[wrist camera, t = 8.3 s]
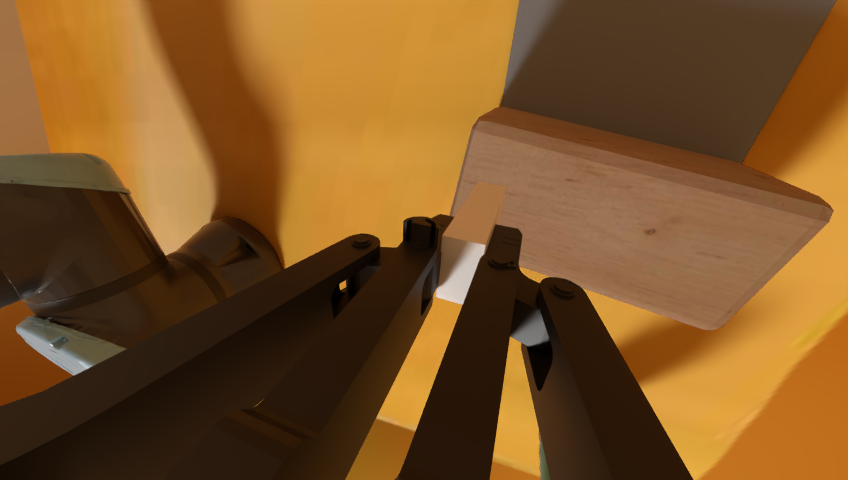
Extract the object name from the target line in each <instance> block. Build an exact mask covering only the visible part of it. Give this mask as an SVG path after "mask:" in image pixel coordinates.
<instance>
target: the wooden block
mask: <svg viewBox="0 0 848 480" xmlns="http://www.w3.org/2000/svg"><path fill="white" fill-rule="evenodd" d="M477 182H482V183H488V184H494V185H500V186H506V187H507V188H506V193H505V198H504V203H503V207H502V212H501V217H500V222H499V225H502V226H507V227H512V228H517V229H519V230H520V232H521V233H522V235H523V236H522V243H521V250H520V257H519V266H520V267H523V268H526V269H529V270H532V271H535V272H538V273H541V274H543V275H546V276H549V277H558V278H564V279H567V280H570V281H572V282H574V283H575V284H577V285H578V286H580V287H581V288H584V289H587V290H590V291H593V292H596V293H598V294H601V295H604V296H607V297H610V298H613V299H616V300H619V301H622V302H625V303H627V304H630V305H633V306H636V307H639V308H642V309H645V310H648V311H651V312H654V313H656V314H659V315H662V316H665V317H668V318H671V319H674V320H677V321H680V322H682V323H685V324H688V325H691V326H694V327H697V328H700V329H703V330H715V329H718V328H720V327H722V326H723V325H724V324H725V323H726V322H727V321H729V320H730V319H731V318H732V317H733V316H734V315H735V314H736V313H737V312H738V311H739V310H740V309H741V308H742V307H743V306H744V305H745V304H746V303H747V302H748V301H749V300H750V299H751V298H752V297H753V296H754V295H755V294H756V293H757V292H758V291H759V290H760V289H761V288H762V287H763V286H764V285H765V284H766V283H767V282H768V281H769V280H770V279H771V278H772V277H773V276H774V275H775V274H776V273H777V272H778V271H779V270H780V269H781V268H782V267H783V266H785V265H786V264H787V263H788V262H789V261H790V260H791V259H792V258H793V257H794V256H795V255H796V254H797V253H798V252H799V251H800V250H801V249H802V248H803V247H804V246H805V245H806V244H807V243H808V242H809V241H810V240H811V239H812V238H813V237H814V236H815V235H816V234H817V233H818V232H819V231H820V230H821V229H822V228H823V227H824V226H825V225H826V224H827V223H828V222H829V220H830V218H831V216H832V213H833V209H832V208H831V206H830V205H829V204H828V203H826V202H825V201H824V200H823V199H821V198H820V197H819V196H817V195H814V194H812V193H810V192H807V191H805V190H802V189H800V188H798V187H795V186H793V185H791V184H788V183H786V182H783V181H781V180H779V179H776V178H774V177H771V176H769V175H767V174H764V173H762V172H759V171H757V170H755V169H752V168H750V167H748V166H745V165H743V164H740V163H738V162H734V161H730V160H726V159H721V158H717V157H713V156H709V155H705V154H701V153H696V152H692V151H688V150H684V149H680V148H676V147H671V146H667V145H663V144H659V143H655V142H650V141H646V140H642V139H638V138H634V137H630V136H625V135H621V134H617V133H613V132H609V131H605V130H600V129H596V128H592V127H588V126H584V125H579V124H575V123H571V122H567V121H563V120H559V119H554V118H550V117H546V116H542V115H538V114H533V113H529V112H525V111H521V110H517V109H513V108H508V107H500V108H495V109H493V110H492V111H490V112H488V113H486V114H484V115H483V116H481V117H479V118H478V120H477V121H476V123H475V124H474V125H473V127H472V130H471V134H470V138H469V142H468V146H467V150H466V154H465V157H464V161H463V165H462V169H461V173H460V177H459V181H458V185H457V189H456V193H455V196H454V200H453V204H452V208H451V212H450V216H452V217H455V216H456V214H457V213H458V211H459V210H460V208H461V207H462V205H463V204H464V202H465V201H466V199H467V198H468V196H469V195H470V193H471V192H472V190H473V189H474V187H475V186H476V184H477Z"/></svg>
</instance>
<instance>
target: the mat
mask: <svg viewBox="0 0 848 480" xmlns="http://www.w3.org/2000/svg"><path fill="white" fill-rule="evenodd" d="M835 2H836V0H520V1H519V7H518V12H517V18H516V24H515V30H514V36H513V42H512V48H511V53H510V59H509V65H508V71H507V77H506V83H505V89H504V94H503V100H502V106H501V107H508V108H513V109H517V110H521V111H525V112H529V113H533V114H538V115H542V116H546V117H550V118H554V119H559V120H563V121H567V122H571V123H575V124H579V125H584V126H588V127H592V128H596V129H600V130H605V131H609V132H613V133H617V134H621V135H625V136H630V137H634V138H638V139H642V140H646V141H650V142H655V143H659V144H663V145H667V146H671V147H676V148H680V149H684V150H688V151H692V152H696V153H701V154H705V155H709V156H713V157H717V158H721V159H726V160H730V161H734V162H738V163H740V164H742V162H743V160H744V159H745V157H746V155H747V154H748V152H749V150H750V148H751V147H752V145H753V143H754V141H755V140H756V138H757V136H758V135H759V133H760V131H761V129H762V128H763V126H764V124H765V123H766V121H767V119H768V117H769V116H770V114H771V112H772V110H773V109H774V107H775V105H776V104H777V102H778V100H779V98H780V97H781V95H782V93H783V92H784V90H785V88H786V86H787V85H788V83H789V81H790V79H791V78H792V76H793V74H794V73H795V71H796V69H797V67H798V66H799V64H800V62H801V61H802V59H803V57H804V55H805V54H806V52H807V50H808V48H809V47H810V45H811V43H812V42H813V40H814V38H815V36H816V35H817V33H818V31H819V30H820V28H821V26H822V24H823V23H824V21H825V19H826V17H827V16H828V14H829V12H830V11H831V9H832V7H833V5H834V4H835Z"/></svg>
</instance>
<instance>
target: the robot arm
mask: <svg viewBox="0 0 848 480" xmlns="http://www.w3.org/2000/svg"><path fill="white" fill-rule="evenodd" d="M506 188H507V187H506V186H500V185H494V184H488V183H482V182H477V184H476V186H475V187H474V189H473V190H472V192H471V193H470V195H469V196H468V198H467V199H466V201H465V202H464V204H463V205H462V207H461V208H460V210H459V211H458V213H457V214H456V216H455V217H452V216H447V215H442V214H440V215H437V216H435V217H433V218H432V219H431V218H428V217H411V218H407V219H406V220H404V224H403V242H402V243H401V244H400V245H399V246H398V247H397V248H390V247H380V240H379V239H378V238H377V237H375V236H373V235H369V234H356V235H352V236H350V237H347V238H345V239H343V240H341V241H339V242H337V243H335V244H333V245H331V246H329V247H327V248H325V249H323V250H322V251H320V252H318V253H316V254H314V255H312V256H310V257H308V258H306V259H304V260H302V261H300V262H298V263H296V264H294V265H292V266H290V267H288V268H286V269H284V270H282V268H281V265H280V262H279V259H278V257H277V255H276V253H275V251H274V250H273V248H272V247H271V245H270V244H269V243H268V241H267V240H266V239H265V238H264V237H263V236H262V235H261V234H260V233H259V232H258V231H257V230H256V229H254V228H253V227H252V226H250V225H249V224H247V223H245V222H243V221H241V220H239V219H236V218H231V217H223V218H219V219H217V220H215V221H212V222H210V223H208V224H206V225H205V226H203V227H202V228H201V229H200V230H199V231H198V232H197V233H196V234H195V235H193V236H192V237H191V238H190V239H189V240H188V241H187V242H186V243H184V244H183V245H182V246H181V247H180V248H179V249H178V250H177V251H175V252H173V253H171V254H169V255H166V256H165V254H164V253H163V251H162V249H161V247H160V246H159V244H158V242H157V241H156V239H155V237H154V235H153V234H152V232H151V230H150V229H149V227H148V225H147V224H146V222H145V220H144V219H143V217H142V215H141V213H140V212H139V210H138V208H137V207H136V205H135V203H134V201H133V199H132V198H131V196H130V194H131V193H130V191H129V189H126V188H125V186H124V185H123V183H122V182H121V180H120V179H119V177H118V176H117V174H116V173H115V171H114V170H113V168H112V167H111V166H110V164H109V163H107V162H106V161H105V160H103V159H102V158H100V157H97V156H94V155H91V154H85V153H48V154H26V155H6V156H0V308H2V307H5V306H7V305H9V304H12V303H14V302H17V301H19V300H22V301H23V302H24V303H25V304H26V305H27V306H28V307H29V309H30V310H31V311H32V312H33V314H34V316H30V317H27V318H25V319H24V320H23V322H21V323H20V324H18V325H17V327H16V330H17V333H18V334H20V335H21V336H22V337H23V338H24V340H25V341H26V342H27V343H28V344H29V345H31V346H32V347H33V348H34V349H35V350H37V351H38V352H40V353H41V354H42V355H44V356H45V357H46V358H48V359H49V360H51V361H52V362H54V363H55V364H57V365H58V366H60V367H61V368H63V369H64V370H66V371H68V372H69V373H71V374H73V375H74V376H72V377H70V378H69V379H66V380H64V381H62V382H60V383H58V384H56V385H54V386H52V387H50V388H48V389H46V390H44V391H42V392H40V393H37V394H34V395H31V396H28V397H26V398H23V399H20V400H17V401H14V402H11V403H8V404H6V405H3V406H0V480H345V479H346V477H347V475H348V473H349V471H350V469H351V467H352V465H353V463H354V461H355V459H356V457H357V455H358V453H359V450H360V449H361V447H362V445H363V443H364V441H365V439H366V437H367V434H368V433H369V431H370V429H371V427H372V425H373V423H374V420H375V419H376V417H377V415H378V413H379V411H380V409H381V407H382V405H383V403H384V401H385V399H386V397H387V395H388V393H389V391H390V389H391V387H392V385H393V383H394V381H395V379H396V377H397V375H398V373H399V371H400V368H401V366H402V364H403V362H404V360H405V358H406V356H407V354H408V352H409V350H410V348H411V346H412V344H413V342H414V340H415V338H416V336H417V334H418V332H419V330H420V328H421V326H422V324H423V322H424V320H425V318H426V316H427V314H428V312H429V310H430V308H431V306H432V302H433V294H434V292H435V290H436V288H437V293H436V297H437V298H441V299H444V300H448V301H452V302H455V303H459V304H462V308H461V311H460V313H459V316H458V319H457V322H456V324H455V327H454V330H453V332H452V335H451V338H450V340H449V343H448V346H447V348H446V351H445V354H444V357H443V359H442V362H441V365H440V367H439V370H438V373H437V375H436V378H435V381H434V383H433V386H432V389H431V391H430V394H429V397H428V400H427V402H426V405H425V408H424V410H423V413H422V416H421V418H420V421H419V424H418V426H417V429H416V432H415V435H414V437H413V440H412V443H411V445H410V448H409V451H408V453H407V456H406V459H405V461H404V464H403V467H402V469H401V471H400V473H399V475H398V477H397V478H396V479H395V480H489V479H490V472H491V465H492V458H493V451H494V444H495V437H496V430H497V423H498V416H499V409H500V402H501V395H502V388H503V381H504V374H505V367H506V359H507V352H508V345H509V338H510V336H511V337H512V338H514V339H516V340H518V341H519V342H521V350H522V355H523V359H524V364H525V368H526V373H527V377H528V382H529V386H530V391H531V395H532V400H533V404H534V409H535V413H536V418H537V422H538V427H539V431H540V436H541V440H542V445H543V449H544V454H545V458H546V463H547V467H548V472H549V476H550V480H693V478H692V477H691V475H690V473H689V471H688V470H687V468H686V466H685V464H684V463H683V461H682V459H681V457H680V456H679V454H678V452H677V450H676V449H675V447H674V445H673V444H672V442H671V440H670V438H669V437H668V435H667V433H666V431H665V430H664V428H663V426H662V424H661V423H660V421H659V419H658V418H657V416H656V414H655V412H654V411H653V409H652V407H651V405H650V404H649V402H648V400H647V398H646V397H645V395H644V393H643V391H642V390H641V388H640V386H639V385H638V383H637V381H636V379H635V378H634V376H633V374H632V372H631V371H630V369H629V367H628V365H627V364H626V362H625V360H624V358H623V357H622V355H621V353H620V352H619V350H618V348H617V346H616V345H615V343H614V341H613V339H612V338H611V336H610V334H609V332H608V331H607V329H606V327H605V326H604V324H603V322H602V320H601V319H600V317H599V315H598V313H597V312H596V310H595V308H594V306H593V305H592V303H591V301H590V299H589V298H588V296H587V294H586V293H585V291H584V290H583V289H582V288H581V287H580V286H578V285H577V284H575V283H574V282H572V281H570V280H567V279H564V278H558V277H548V278H545V279H543V280H542V281H541V282H540V283H538V282H535V281H533V280H531V279H529V278H528V277H526V276H525V275H524V274H523V273H522V272H521V271H520V269H519V257H520V250H521V243H522V236H523V235H522V233H521V232H520V230H519V229H517V228H512V227H507V226H502V225H499V222H500V217H501V212H502V207H503V203H504V198H505V193H506ZM345 280H346V288H344V289H342V290H340V288H339V284H340V283H341V282H343V281H345ZM263 399H264V400H263ZM262 400H263V401H262ZM260 401H262V402H261V403H259V402H260ZM258 403H259V404H258ZM257 404H258V405H257ZM255 405H257V406H256V407H254V406H255ZM253 407H254V408H253Z"/></svg>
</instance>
